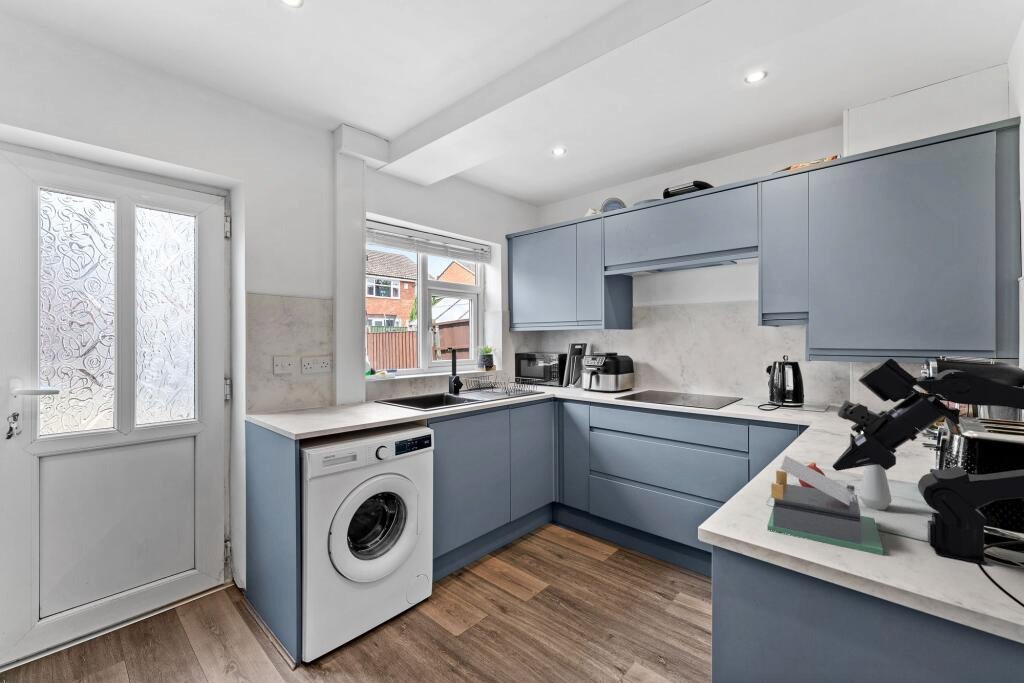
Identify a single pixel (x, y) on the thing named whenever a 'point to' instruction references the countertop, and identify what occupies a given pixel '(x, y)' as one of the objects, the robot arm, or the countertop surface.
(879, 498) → the salt shaker
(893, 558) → the countertop surface
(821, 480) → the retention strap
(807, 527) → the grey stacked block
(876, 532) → the processor board
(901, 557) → the countertop surface
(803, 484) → the onion
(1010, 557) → the countertop surface
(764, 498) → the countertop surface
